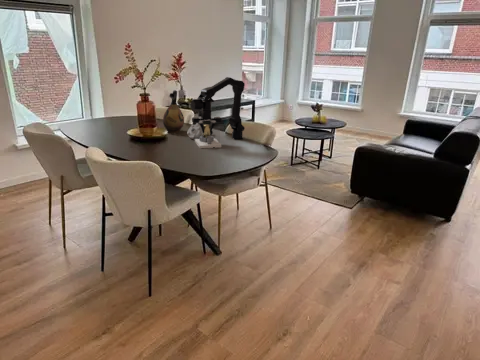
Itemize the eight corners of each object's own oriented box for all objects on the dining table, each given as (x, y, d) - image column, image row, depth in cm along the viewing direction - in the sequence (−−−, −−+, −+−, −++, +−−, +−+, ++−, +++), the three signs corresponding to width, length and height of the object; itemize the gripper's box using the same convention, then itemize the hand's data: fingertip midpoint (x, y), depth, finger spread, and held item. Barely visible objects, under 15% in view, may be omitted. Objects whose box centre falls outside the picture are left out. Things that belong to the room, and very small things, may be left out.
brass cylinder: (209, 136, 230) (209, 124, 227) (210, 137, 226) (210, 125, 223) (202, 136, 229) (202, 124, 226) (204, 137, 225) (204, 125, 222)
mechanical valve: (184, 134, 237) (195, 116, 240) (197, 146, 252) (207, 129, 254) (194, 138, 231) (205, 119, 234) (207, 150, 246) (217, 133, 249)
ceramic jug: (182, 134, 249) (181, 92, 239) (161, 133, 249) (159, 91, 239) (186, 129, 265) (185, 89, 255) (166, 128, 265) (164, 88, 255)
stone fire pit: (215, 140, 235) (215, 131, 233) (221, 147, 219) (221, 137, 217) (194, 141, 231) (194, 131, 229) (199, 148, 215) (199, 138, 213)
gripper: (217, 106, 231) (217, 129, 236) (190, 107, 225) (190, 130, 231) (221, 109, 221) (221, 133, 226) (193, 110, 215) (193, 134, 221)
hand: (206, 132), depth 226 cm, fingers closed on brass cylinder, 4 cm apart
